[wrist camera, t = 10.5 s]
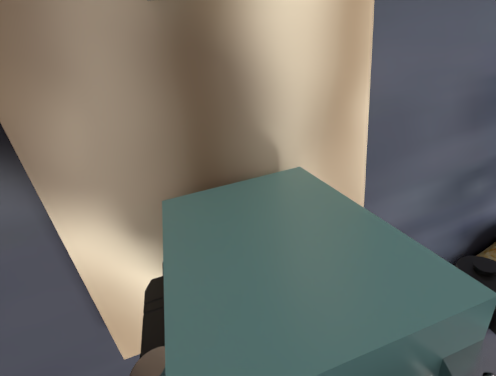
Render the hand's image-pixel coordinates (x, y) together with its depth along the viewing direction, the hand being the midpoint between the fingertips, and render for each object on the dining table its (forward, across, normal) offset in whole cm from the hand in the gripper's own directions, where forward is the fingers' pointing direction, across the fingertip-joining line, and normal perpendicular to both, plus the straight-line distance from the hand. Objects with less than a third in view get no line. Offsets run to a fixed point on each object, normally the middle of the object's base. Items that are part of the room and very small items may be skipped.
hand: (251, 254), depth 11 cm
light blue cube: (+1, 0, 0) cm, 1 cm away
